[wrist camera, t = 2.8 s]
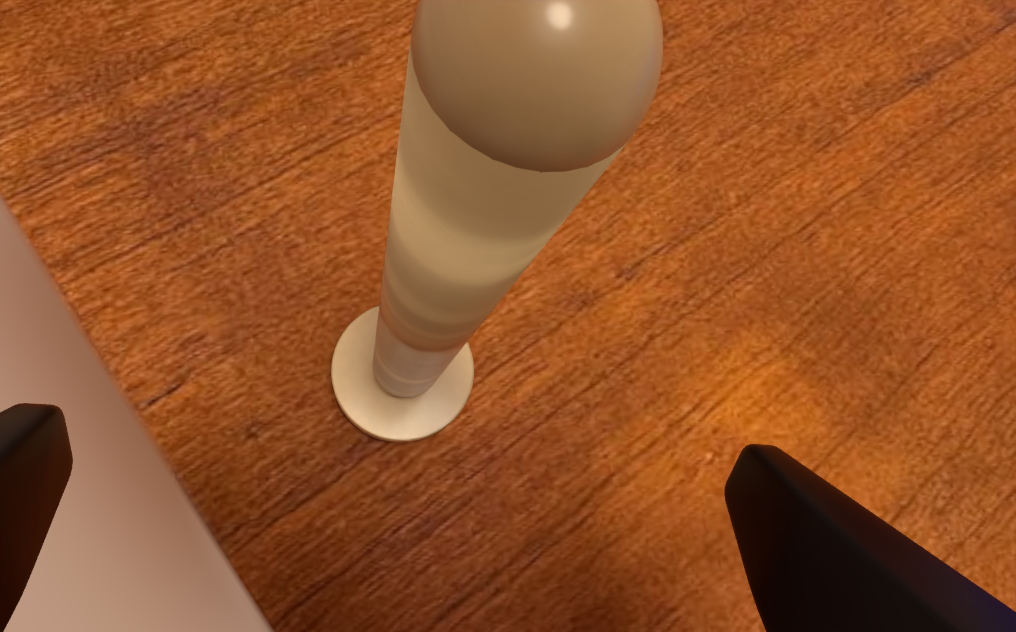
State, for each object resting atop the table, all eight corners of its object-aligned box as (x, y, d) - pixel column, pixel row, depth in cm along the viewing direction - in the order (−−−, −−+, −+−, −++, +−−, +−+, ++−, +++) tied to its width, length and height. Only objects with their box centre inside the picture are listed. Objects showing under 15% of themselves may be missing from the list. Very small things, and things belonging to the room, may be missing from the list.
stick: (382, 471, 18) (501, 443, 3) (305, 355, 18) (53, -205, 3) (494, 392, 19) (977, 91, 4) (420, 285, 20) (625, -351, 5)
